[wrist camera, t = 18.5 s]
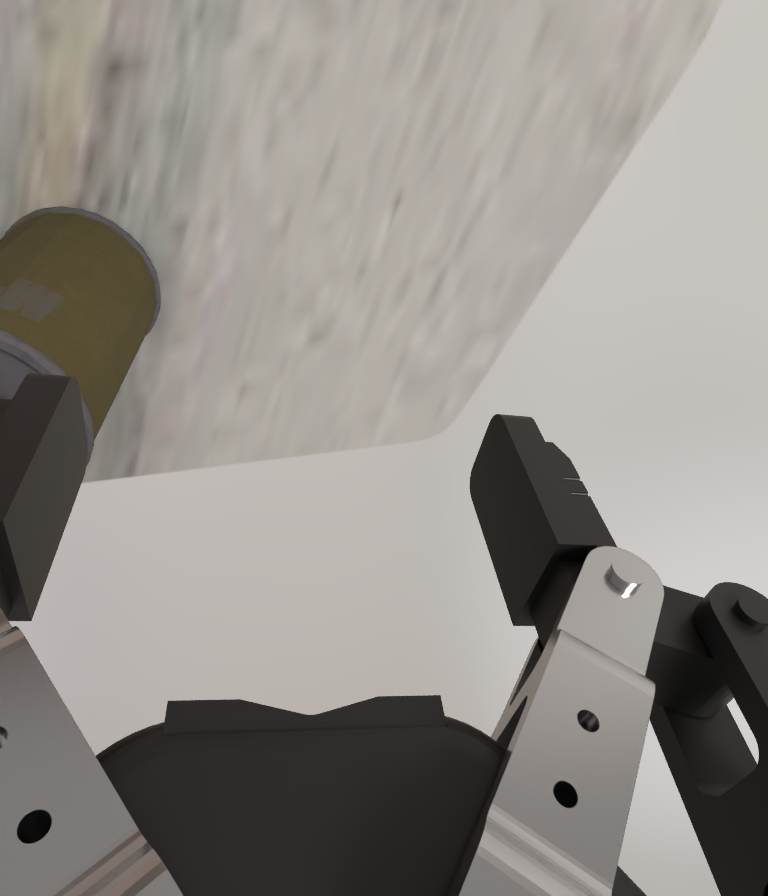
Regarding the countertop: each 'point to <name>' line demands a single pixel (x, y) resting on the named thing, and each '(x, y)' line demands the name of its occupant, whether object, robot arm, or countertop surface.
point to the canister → (74, 305)
